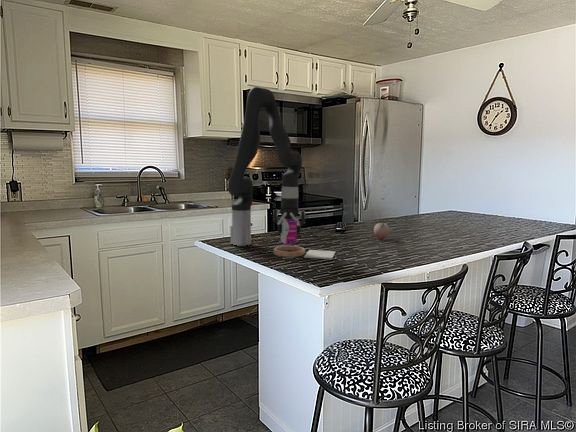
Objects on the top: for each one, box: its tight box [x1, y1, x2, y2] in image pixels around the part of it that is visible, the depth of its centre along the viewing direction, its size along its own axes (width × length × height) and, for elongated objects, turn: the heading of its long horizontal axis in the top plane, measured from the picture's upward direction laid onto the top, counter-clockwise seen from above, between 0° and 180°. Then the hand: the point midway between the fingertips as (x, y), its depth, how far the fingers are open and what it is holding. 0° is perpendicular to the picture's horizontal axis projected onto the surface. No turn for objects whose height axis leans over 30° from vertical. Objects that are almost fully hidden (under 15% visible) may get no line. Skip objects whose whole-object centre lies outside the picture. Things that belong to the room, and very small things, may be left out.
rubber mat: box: [303, 249, 337, 260], centre depth 181 cm, size 12×13×1 cm
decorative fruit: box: [373, 220, 391, 240], centre depth 217 cm, size 9×8×10 cm
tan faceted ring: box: [273, 245, 306, 258], centre depth 184 cm, size 14×14×2 cm
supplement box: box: [280, 218, 298, 246], centre depth 183 cm, size 6×6×12 cm
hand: (288, 233), depth 183 cm, fingers closed on supplement box, 7 cm apart
